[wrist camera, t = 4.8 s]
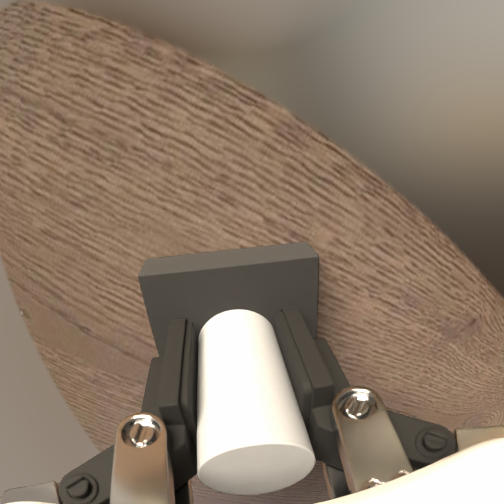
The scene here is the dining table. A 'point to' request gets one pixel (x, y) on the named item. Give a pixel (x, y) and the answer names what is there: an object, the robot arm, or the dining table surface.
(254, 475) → the peg on square base
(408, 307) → the dining table surface
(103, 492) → the robot arm
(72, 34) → the dining table surface
